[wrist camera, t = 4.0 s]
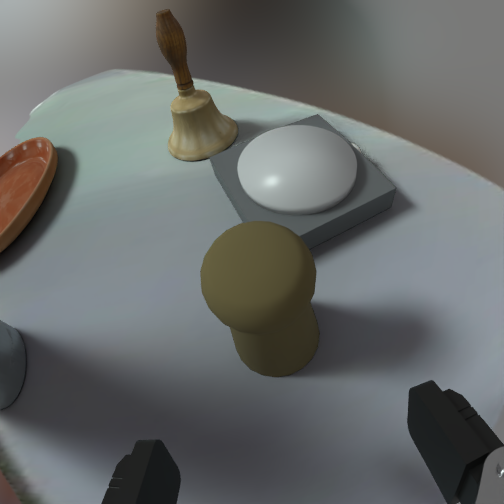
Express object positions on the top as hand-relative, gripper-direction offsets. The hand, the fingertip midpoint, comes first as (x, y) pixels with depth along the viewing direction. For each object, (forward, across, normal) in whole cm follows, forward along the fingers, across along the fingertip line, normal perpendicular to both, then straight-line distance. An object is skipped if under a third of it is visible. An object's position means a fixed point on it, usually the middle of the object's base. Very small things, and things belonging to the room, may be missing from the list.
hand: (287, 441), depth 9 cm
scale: (+22, -5, -6) cm, 24 cm away
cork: (+14, 0, +3) cm, 14 cm away
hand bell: (+30, +3, -14) cm, 34 cm away
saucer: (+31, +35, -14) cm, 49 cm away
